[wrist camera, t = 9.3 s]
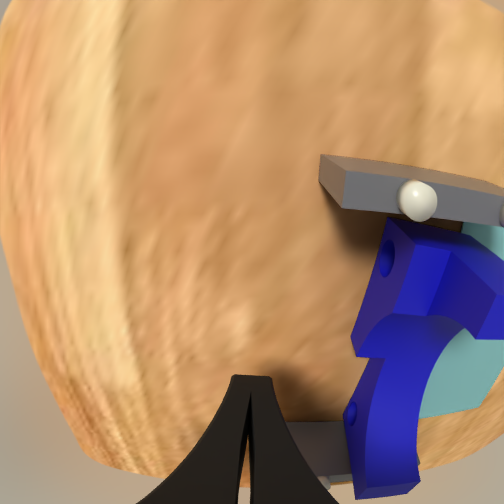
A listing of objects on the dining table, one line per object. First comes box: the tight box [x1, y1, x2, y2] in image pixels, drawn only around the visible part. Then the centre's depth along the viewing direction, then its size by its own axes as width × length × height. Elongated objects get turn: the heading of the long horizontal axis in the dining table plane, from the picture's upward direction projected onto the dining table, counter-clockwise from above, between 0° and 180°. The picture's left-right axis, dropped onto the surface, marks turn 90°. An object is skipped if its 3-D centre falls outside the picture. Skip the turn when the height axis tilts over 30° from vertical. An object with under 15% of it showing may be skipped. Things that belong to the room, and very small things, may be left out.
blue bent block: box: [343, 217, 504, 500], centre depth 12 cm, size 12×4×6 cm, turn 173°
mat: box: [419, 222, 504, 419], centre depth 14 cm, size 8×15×1 cm, turn 178°
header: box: [286, 154, 504, 490], centre depth 12 cm, size 8×16×5 cm, turn 178°
